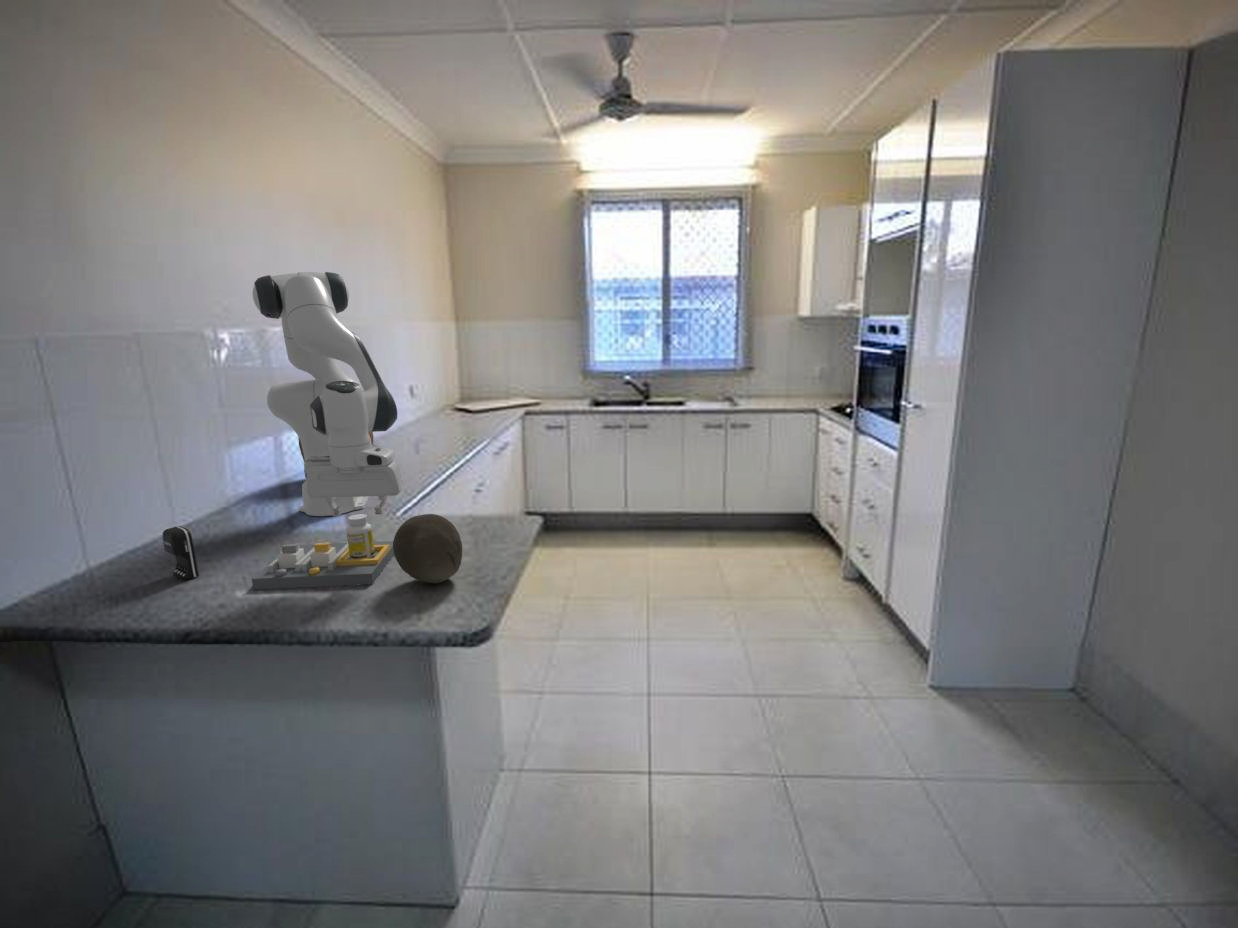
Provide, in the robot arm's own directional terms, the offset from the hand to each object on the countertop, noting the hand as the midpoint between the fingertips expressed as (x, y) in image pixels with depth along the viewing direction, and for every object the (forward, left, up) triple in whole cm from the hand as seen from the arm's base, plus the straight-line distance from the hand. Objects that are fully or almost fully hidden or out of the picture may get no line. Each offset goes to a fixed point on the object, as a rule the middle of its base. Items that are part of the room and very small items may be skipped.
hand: (358, 514), depth 142 cm
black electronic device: (+2, -39, -13) cm, 42 cm away
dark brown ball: (+11, +18, -13) cm, 24 cm away
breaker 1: (+4, -14, -10) cm, 18 cm away
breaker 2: (+4, -7, -10) cm, 13 cm away
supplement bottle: (+1, 0, -10) cm, 10 cm away
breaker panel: (+1, -7, -13) cm, 15 cm away
